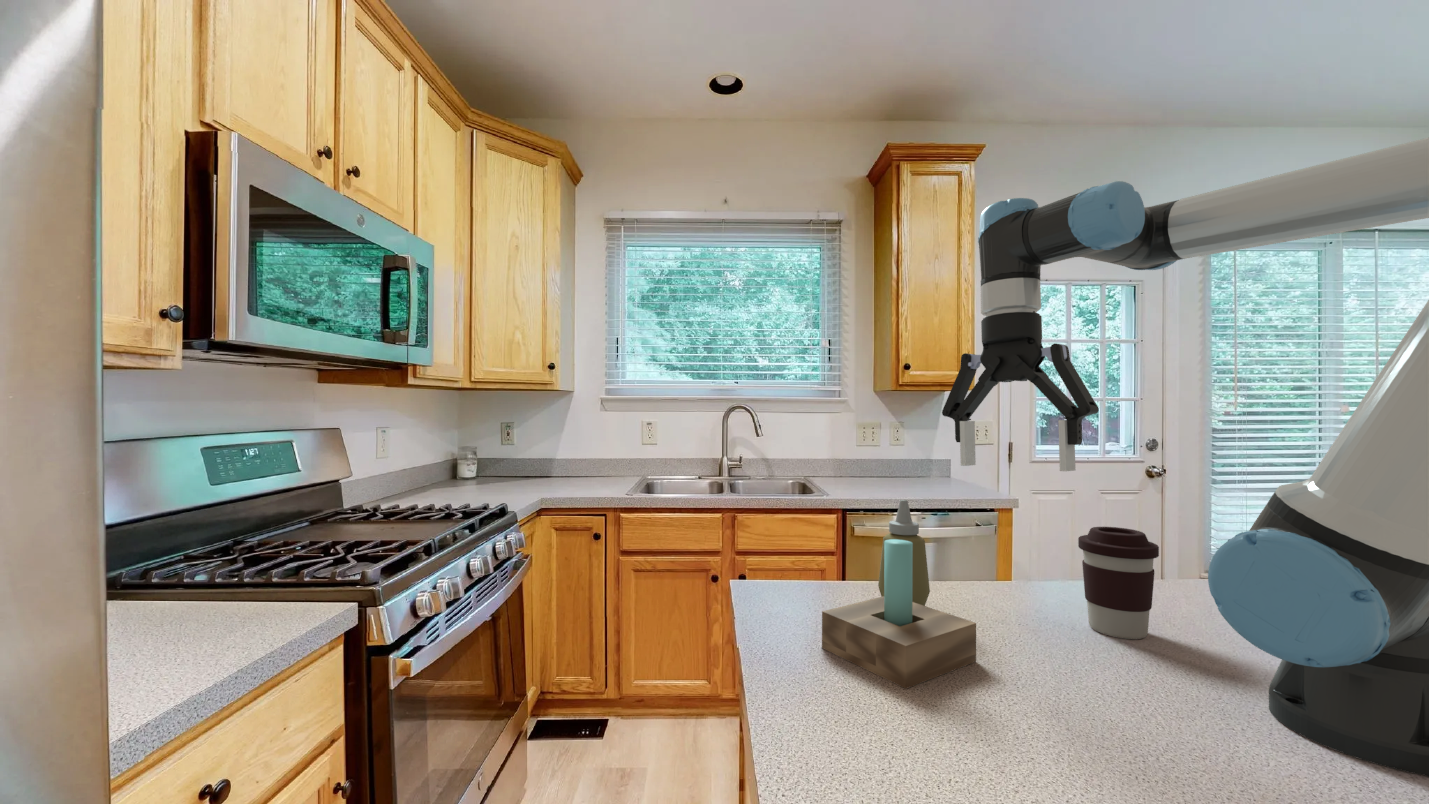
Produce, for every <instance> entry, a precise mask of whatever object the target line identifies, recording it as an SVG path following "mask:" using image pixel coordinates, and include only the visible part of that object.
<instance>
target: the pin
mask: <svg viewBox="0 0 1429 804" xmlns="http://www.w3.org/2000/svg"><path fill="white" fill-rule="evenodd" d="M912 551H913V543H912V542H910V541H906V540H898V539H890V540H885V541H884V621H887V622H890V623H892V624H895V625H897V626H903V625H907V624H910V623H912Z"/></svg>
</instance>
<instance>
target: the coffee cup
mask: <svg viewBox="0 0 1429 804" xmlns="http://www.w3.org/2000/svg"><path fill="white" fill-rule="evenodd" d="M1077 541H1078V542H1077V544H1078V548H1079V549H1080V550H1082V552H1083V555H1082V556H1083V560H1081V561H1082V565H1081V566H1082V573H1083V575H1082V576H1083V586H1084V587H1083V588H1084V596H1085V597H1084V598H1085V600H1086V603H1087V606H1086V607H1087V616H1088V624H1089V627H1090V628H1091V629H1092V630H1093V631H1095V632H1098V633H1100V634H1103V635H1106V636H1109V637H1113V638H1119V639H1126V640H1140V639H1145V638H1146V637H1148V634H1149V633H1148V632H1149V621H1150V612H1151V609H1152V607H1153V594H1154V582H1155V569H1154V559H1157V558H1158V557H1159V556H1160V553H1159V552H1160V547H1159V545H1158V544H1156V543H1154V542H1152V541H1149V539H1148V537H1147V535H1146V534H1145V532H1143V531H1140V530H1136V529H1131V528H1124V527H1115V526H1093V527H1091V528H1090V529H1089V531H1088V533H1087V534H1084V535H1080V536H1078V539H1077Z"/></svg>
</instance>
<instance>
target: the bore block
mask: <svg viewBox="0 0 1429 804" xmlns="http://www.w3.org/2000/svg"><path fill="white" fill-rule="evenodd" d="M821 649H824V650H825V651H827V652H830V653H832V654H833V655H836V656H838V657H839V658H842V659H843V660H846V661H848V662H850V663H852V664H854V665H856V666H859V667H861V668H862V669H864V670H866V671H869V672H871V673H872V674H874V675H877V676H879V677H880V678H883V679H885V680H887V681H889V682H891V683H893V684H895V685H897V686H899V687H902V688H903V689H905V690H906V689H909V688H912V687H914V686H917V685H919V684H921V683H925V682H927V681H929V680H932V679H935V678H938V677H940V676H943V675H945V674H947V673H950V672H952V671H956V670H958V669H960V668H963V667H967V666H968V665H972V664H974V663H975V662H976V663H977V622H975V621H972V620H968V619H965V618H962V617H959V616H956V615H954V614H950V613H948V612H944V611H942V610H938V609H935V608H932V607H929V606H926V605H925V606H923V605H920V604H917V603H914V602H912V623H910V624H907V625H903V626H897V625H895V624H892V623H890V622H887V621H884V596H883V597H881V596H879V597H875V598H871V599H867V600H861V601H859V602H856V603H851V604H846V605H843V606H838V607H835V608H831V609H825V610H822V611H821Z"/></svg>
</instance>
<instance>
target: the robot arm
mask: <svg viewBox="0 0 1429 804" xmlns="http://www.w3.org/2000/svg"><path fill="white" fill-rule="evenodd" d="M1425 219H1429V137H1425V138H1421V139H1415V140H1412V141H1408V142H1404V143H1401V144H1397V145H1392V146H1389V147H1384V148H1381V149H1376V150H1373V151H1369V152H1364V153H1361V154H1356V155H1353V156H1349V157H1345V158H1340V159H1336V160H1333V161H1329V162H1324V163H1319V164H1316V165H1312V166H1308V167H1305V168H1300V169H1297V170H1296V169H1295V170H1292V171H1288V172H1284V173H1282V174H1281V173H1280V174H1276V175H1271V176H1268V177H1264V178H1260V179H1256V180H1253V181H1249V182H1248V181H1247V182H1245V183H1244V182H1243V183H1239V184H1236V185H1232V186H1228V187H1224V188H1219V189H1216V190H1213V191H1207V192H1203V193H1200V194H1194V195H1191V196H1188V197H1184V198H1180V199H1178V200H1173V201H1167V202H1163V203H1160V204H1155V205H1151V206H1145V205H1144V201H1143V199H1142V196H1141V194H1140V192H1138V191H1137V190H1135V188H1134V186H1133V185H1132V184H1130V183H1129V182H1126V181H1123V180H1121V181H1120V180H1119V181H1118V180H1115V181H1111V182H1109V183H1104V184H1102V185H1097V186H1091V187H1090V188H1086V189H1084V190H1082V191H1080V192H1078V193H1075V194H1072V195H1070V196H1067V197H1065V198H1061V199H1059V200H1056V201H1053V202H1051V203H1048V204H1045V205H1042V206H1040V207H1039V204H1038V202H1036V200H1034V199H1031V198H1029V197H1028V198H1027V197H1015V198H1014V197H1013V198H1009V199H1007V200H1000V201H997V202H993V203H992V204H990V205H988V206H987V207H986V208H984V209H983V210H982V212H981V214H980V216H979V231H978V232H979V233H978V234H979V235H978V238H977V240H978V241H977V243H978V245H979V246H978V248H979V249H978V250H979V251H978V252H979V263H980V265H979V266H980V278H981V279H980V314H981V315H983V316H984V317H983V318H982V320H981V321H980V326H981V327H980V328H981V329H980V330H981V332H980V333H981V344H982V352H981V354H974V353H973V354H972V353H966V352H965V353H963V354H962V355H961V357H960V365H959V371H958V373H957V376H956V378H955V380H954V382H953V385H952V386H951V390H950V392H949V394H948V396H947V399H946V401H945V403H944V405H943V409H942V412H941V415H942V416H943V417H947V418H950V419H952V420H953V422H954V429H955V430H954V434H955V435H954V436H955V437H954V439H955V441H956V443H959V445H960V446H959V447H960V451H959V452H960V466H963V467H969V466H976V465H977V464H976V425H975V423H976V421H974V420H972V418H971V417H972V416H973V414H974V413H975V412H976V410H977V409H978V408H979V406H980V405H981V404H982V402H983V401H984V400H985V398H986V397H987V396H988V394H989V393H990V392H991V391H992V389H994V387H996V386H997V385H998V384H999V383H1013V382H1028V381H1029V382H1030V383H1032V384H1033V385H1034V386H1035V387H1036V388H1037V389H1038V390H1039V391H1040V393H1042V394H1043V395H1044V396H1045V397H1046V399H1047V400H1048V401H1049V402H1050V403H1051V404H1052V405H1053V406H1054V407H1055V408H1056V409H1057V410H1058V411H1059V413H1061V415H1062V416H1063V419H1058V425H1057V426H1058V449H1059V450H1058V452H1059V453H1058V454H1059V455H1058V457H1059V471H1060V472H1072V471H1076V448H1075V447H1076V446H1078V445H1082V443H1083V419H1084V418H1086V417H1088V416H1091V415H1096V414H1097V413H1098V412H1099V406H1098V405H1097V402H1096V401H1095V399H1094V397H1092V394H1091V393H1090V392H1089V391H1090V390H1088V388H1087V386H1086V385H1085V383H1084V382H1083V380H1082V378H1081V376H1080V374H1079V373H1078V372H1077V370H1076V368H1075V367H1074V365H1073V363H1072V362H1071V357H1070V356H1071V355H1070V350H1069V346H1067V345H1066V344H1061V343H1052V344H1051V346H1048V347H1044V346H1043V344H1042V341H1043V326H1042V325H1043V323H1042V322H1043V320H1042V319H1043V318H1042V317H1043V316H1042V315H1040V313H1037V312H1038V311H1040V310H1041V309H1042V296H1041V295H1042V293H1041V267H1042V266H1043V265H1049V264H1052V263H1056V262H1057V263H1058V262H1061V261H1065V260H1069V259H1074V258H1085V259H1090V260H1095V261H1097V262H1104V263H1109V264H1113V265H1118V266H1122V267H1126V268H1128V269H1131V270H1133V271H1134V270H1135V271H1158V270H1163V269H1165V268H1168V267H1169V266H1171V265H1173V264H1175V263H1176V262H1177V261H1180V260H1185V259H1191V258H1197V257H1203V256H1209V255H1214V254H1221V253H1226V252H1227V253H1228V252H1233V251H1239V250H1244V249H1245V250H1246V249H1250V248H1256V247H1263V246H1269V245H1274V244H1275V245H1276V244H1280V243H1286V242H1292V241H1293V242H1294V241H1298V240H1305V239H1311V238H1315V237H1316V238H1317V237H1322V236H1328V235H1334V234H1335V235H1336V234H1341V233H1345V232H1346V233H1347V232H1352V231H1359V230H1365V229H1371V228H1377V227H1383V226H1384V227H1385V226H1388V225H1395V224H1402V223H1407V222H1413V221H1417V220H1418V221H1420V220H1425ZM1046 358H1047V360H1048V361H1049V362H1050V363H1052V364H1053V366H1054V368H1055V370H1056V371H1057V374H1058V376H1059V377H1060V378H1061V380H1062V382H1063V384H1064V386H1065V387H1066V389H1067V391H1068V393H1069V394H1070V396H1071V397H1072V399H1073V401H1074V402H1073V401H1072V400H1071V399H1070V398H1069V397H1068V396H1067V395H1066V394H1065V393H1064V392H1063V391H1062V390H1061V389H1060V388H1059V387H1058V386H1057V385H1056V384H1055V383H1054V381H1052V380H1051V379H1050V377H1049V375H1048V374H1047V373H1046V372H1045V370H1043V369H1042V367H1040V365H1042V363H1043V361H1044V360H1045V359H1046ZM981 365H982V366H983V367H984V371H982V373H980V375H979V377H978V381H977V382H976V384H975V385H974V386H973V388H972V389H971V390H970V387H971V385H972V383H973V380H974V379H975V375H976V373H977V370H978V368H980V367H981ZM969 390H970V391H969ZM968 392H969V393H968ZM1207 570H1208V571H1207V583H1208V588H1209V592H1210V595H1211V597H1212V599H1213V600H1214V603H1215V605H1216V606H1217V610H1218V612H1219V613H1220V615H1221V616H1222V617H1223V619H1224V620H1225V622H1227V624H1228V625H1229V626H1230V627H1231V628H1232V630H1234V631H1235V632H1236V633H1237V634H1238V635H1240V636H1241V637H1242V638H1243V639H1245V640H1246V641H1248V643H1250V644H1252V645H1253V646H1254V647H1255V648H1258V649H1260V651H1263V652H1264V653H1267V654H1269V655H1271V656H1273V657H1275V658H1278V659H1280V663H1279V665H1278V667H1277V669H1276V671H1275V673H1274V675H1273V678H1272V679H1271V682H1270V684H1269V686H1268V687H1269V688H1268V710H1269V712H1270V713H1271V715H1272V716H1273V717H1274V718H1275V719H1276V720H1277V721H1279V722H1280V724H1283V725H1284V726H1285V727H1287V728H1288V729H1290V730H1291V731H1293V732H1295V733H1297V734H1299V735H1301V736H1303V737H1305V738H1307V739H1309V740H1311V741H1312V742H1315V743H1318V744H1319V745H1322V746H1325V747H1327V748H1329V749H1332V750H1335V751H1337V752H1340V753H1343V754H1345V755H1348V756H1350V757H1354V758H1356V759H1359V760H1363V761H1366V762H1369V763H1373V764H1376V765H1379V766H1383V767H1386V768H1387V767H1388V768H1391V769H1394V770H1398V771H1403V772H1406V773H1412V774H1417V775H1420V776H1421V775H1423V776H1429V299H1428V300H1427V302H1426V303H1425V304H1424V306H1423V308H1422V309H1421V311H1420V312H1419V314H1418V315H1417V317H1416V318H1415V319H1414V322H1412V324H1411V326H1410V327H1409V328H1408V330H1407V332H1406V333H1405V335H1404V336H1403V337H1402V339H1401V341H1400V342H1399V344H1398V345H1397V347H1396V348H1395V350H1394V351H1393V353H1392V354H1391V356H1390V357H1389V359H1387V362H1386V363H1385V365H1384V366H1383V368H1382V369H1381V370H1380V372H1379V374H1378V376H1377V377H1376V378H1375V379H1374V381H1373V383H1372V384H1371V386H1370V387H1369V389H1368V390H1367V392H1366V393H1365V395H1364V396H1363V397H1362V400H1361V401H1360V402H1359V404H1358V405H1357V406H1356V409H1355V410H1354V411H1353V413H1352V414H1351V416H1350V417H1349V419H1348V420H1347V421H1346V423H1345V425H1344V427H1343V428H1342V429H1341V431H1340V432H1339V434H1338V435H1337V437H1336V439H1335V440H1334V441H1333V442H1332V444H1331V446H1330V448H1329V449H1328V450H1327V452H1326V453H1325V455H1324V456H1323V458H1322V459H1321V461H1320V462H1319V464H1318V465H1317V467H1316V468H1315V470H1314V472H1313V473H1312V474H1311V476H1310V477H1309V478H1307V479H1305V480H1303V481H1298V482H1293V483H1287V484H1281V485H1279V486H1278V487H1277V488H1276V489H1275V491H1274V493H1273V494H1272V495H1271V497H1270V498H1269V500H1268V501H1267V503H1266V504H1265V506H1264V507H1263V508H1262V511H1261V512H1260V514H1259V515H1258V516H1257V517H1256V519H1255V521H1254V523H1253V524H1252V526H1251V527H1250V528H1249V530H1247V531H1244V532H1243V531H1241V532H1239V533H1237V534H1235V535H1234V536H1233V537H1232V538H1229V539H1227V541H1226V542H1224V543H1223V544H1222V545H1221V546H1220V547H1219V548H1218V549H1217V550H1216V552H1214V554H1213V555H1212V558H1211V560H1210V563H1209V566H1208V569H1207Z"/></svg>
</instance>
